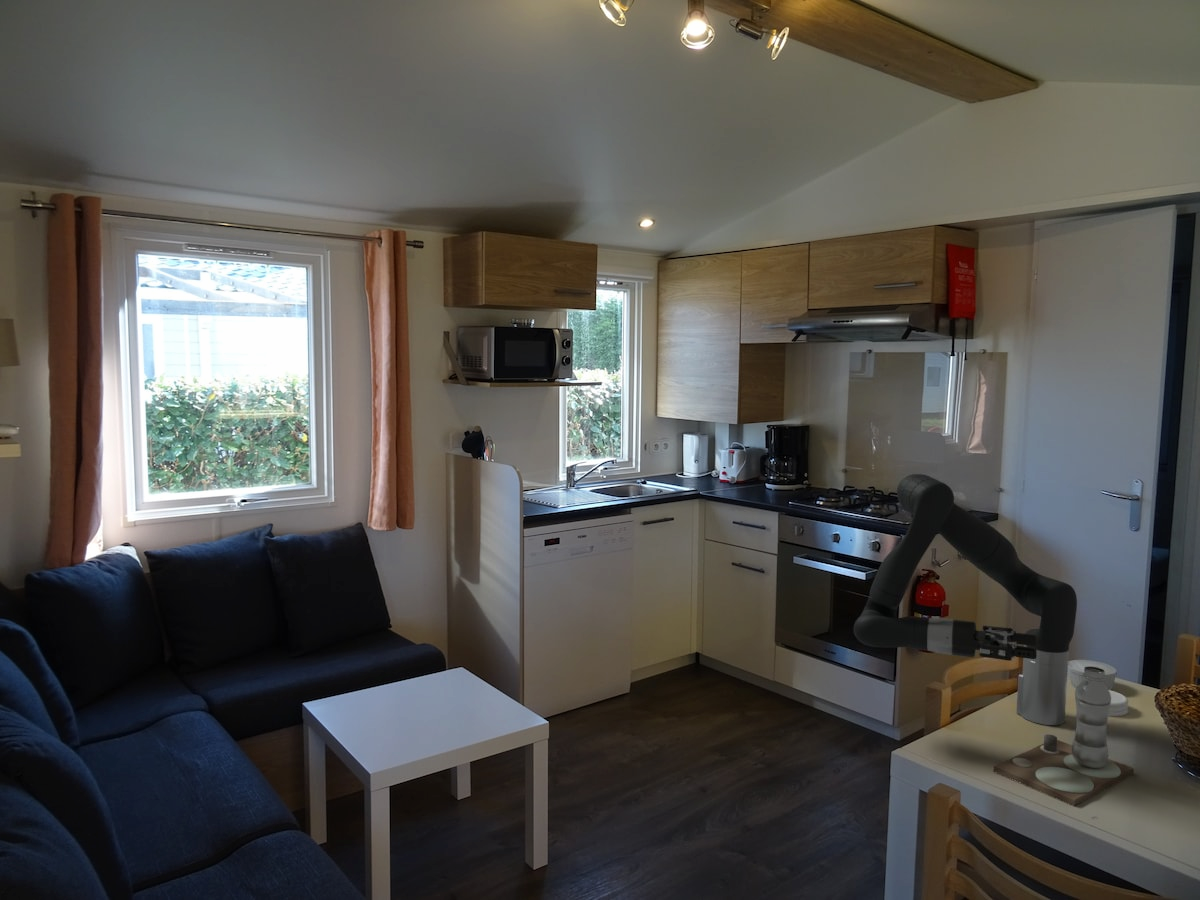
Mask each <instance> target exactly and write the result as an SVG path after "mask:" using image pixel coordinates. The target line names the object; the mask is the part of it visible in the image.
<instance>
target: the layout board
mask: <svg viewBox="0 0 1200 900" xmlns="http://www.w3.org/2000/svg"><path fill="white" fill-rule="evenodd" d="M1072 745H1073V744H1069V743H1068V742H1064V741H1061V740H1060V739H1058V737H1057V736H1056V735H1053V734H1044V737H1043V744H1039V745H1038V746H1036V747H1032V748H1031V749H1028V750H1026V751H1024V752H1022V753H1019V754H1017V755H1015V756H1013V757H1010V758H1009V759H1006V760H1004V761H1002V762H1000V763H998V764H994V765H993V772H994V773H995V772H997V773H996V774H998V773H999V774H998V775H1000V774H1001V775H1000V776H1002V775H1004V776H1003V777H1005V776H1006V777H1005V778H1007V777H1009V778H1011V779H1010V780H1012V779H1013V781H1014V780H1016V781H1018V782H1017V783H1019V782H1021V783H1023V784H1026V785H1028V786H1030V787H1032V788H1031V789H1033V788H1034V790H1035V789H1036V790H1035V791H1037V790H1038V791H1037V792H1040V791H1041V792H1040V793H1042V792H1043V794H1044V793H1045V795H1047V794H1048V795H1047V796H1049V795H1050V796H1049V797H1051V796H1053V797H1052V798H1054V799H1056V798H1057V799H1056V800H1058V799H1059V801H1061V802H1063V801H1064V802H1063V803H1065V802H1066V804H1068V803H1069V804H1068V805H1070V806H1072V805H1073V807H1075V806H1077V805H1078V803H1079V804H1081V803H1082V802H1084V801H1086V800H1088V799H1090V798H1092V797H1094V796H1095V795H1097V794H1099V793H1100V791H1101V792H1103V791H1105V790H1107V789H1108V788H1110V787H1112V786H1114V785H1116V784H1117V783H1119V782H1121V781H1122V780H1124V779H1127V778H1129V777H1130V776H1132V775H1134V774H1135V773H1134V772H1135V771H1134V770H1135V769H1134V767H1133V766H1129V765H1126V764H1123V763H1121V762H1118V761H1115V760H1114V759H1111V758H1108V760H1107V763H1106V764H1105V765H1104V766H1103V767H1101V768H1090V767H1086V766H1083V765H1081V764H1079V763H1077V762H1076V761H1075V759H1074V758H1073V755H1072ZM1128 776H1129V777H1128ZM1126 777H1127V778H1126ZM1009 778H1008V779H1009ZM1016 781H1015V782H1016ZM1021 783H1020V784H1021ZM1023 784H1022V785H1023ZM1026 785H1025V786H1026ZM1028 786H1027V787H1028ZM1030 787H1029V788H1030ZM1093 795H1094V796H1093ZM1091 796H1092V797H1091ZM1089 797H1090V798H1089ZM1080 802H1081V803H1080ZM1076 804H1077V805H1076ZM1074 805H1075V806H1074Z"/></svg>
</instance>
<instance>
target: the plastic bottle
mask: <svg viewBox="0 0 1200 900" xmlns="http://www.w3.org/2000/svg"><path fill="white" fill-rule="evenodd" d="M1083 677H1084V678H1085V679H1084V680H1083V681H1082V682H1081V683H1080V684H1079V685H1078V687H1077V688H1076V687H1075V691H1074V698H1075V708H1076V725H1075V733H1074V738H1073V741H1072V744H1071V745H1072V755H1073V758H1074V759H1075V761H1076V762H1077V763H1079V764H1081V765H1083V766H1086V767H1090V768H1101V767H1103V766H1104V765H1105V764H1106V763H1107V760H1108V759H1109V748H1108V740H1107V739H1108V738H1107V728H1108V727H1107V726H1108V718H1109V716H1108V712H1109V708H1110V703H1111V695H1110V692H1109V690H1108V688H1107V687H1106V686H1105V684H1104V683H1103V681H1105V671H1104V670H1103V669H1101V668H1098V667H1093V666H1087V667H1085V668H1084V674H1083Z"/></svg>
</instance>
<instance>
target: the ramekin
mask: <svg viewBox="0 0 1200 900" xmlns="http://www.w3.org/2000/svg"><path fill="white" fill-rule="evenodd" d="M1087 666H1093V667H1098V668H1101V669H1103V670H1104V671H1105V681H1103V683H1104V684H1105V686H1106V687H1107V688H1108V690H1111V691H1112V689H1113V687H1114V683H1115V681H1116V680H1115V679H1116V676H1117V674H1118V670H1117V669H1116V668H1115V667H1113V666H1111V665H1109V664H1107V663H1104V662H1102V661H1101V662H1100V661H1095V660H1089V659H1074V660H1068V673H1067V678H1068V681H1069V683H1070V684H1071V685H1072V686H1073V687H1074V688H1075V689H1076V688H1077V687H1078V685H1079V684H1080V683H1081V682H1082V681H1083V680H1084V679H1085V678H1084V677H1083V674H1084V668H1085V667H1087Z"/></svg>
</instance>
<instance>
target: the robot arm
mask: <svg viewBox="0 0 1200 900" xmlns="http://www.w3.org/2000/svg"><path fill="white" fill-rule="evenodd" d="M896 496H897V501H898V503H899V504H900V506H901V508H903V510H904V511H905V512H907V513H908V514H911V515H912V518H911V521H910V524H909V527H908V528H907V531H906V533H905V534H904V537H903V538H902V539H901V540H900V541H899V543H898V544H897V545H896V546H894V548H892V550H891V551H890V552H889V553H888V554H887V555H886V556H885V558H884V559H883V561H881V564H880V566H879V567H878V570H877V572H876V575H875V577H874V579H873V582H872V584H871V587H870V590H869V597H868V599H867V601H866V604H865V606H864V608H863V610H862V612H861V614H860V616H859V617H857V619H856V620H855V621H854V625H853V634H854V637H855V638H856V639H857V640H858V641H859V642H860V643H861V644H863V645H865V646H869V647H874V648H906V649H913V650H920V651H928V652H933V653H937V654H940V655H941V654H943V655H950V656H957V657H958V656H959V657H966V658H974V657H975V656H976V651H979V654H978V655H979V657H981V658H989V659H996V660H1003V661H1009V662H1010V661H1013V660H1012V659H1016V658H1020V659H1022V660H1023V663H1022V673H1020V674H1018V679H1017V694H1016V695H1017V698H1016V714H1017V715H1020V716H1021V717H1022V718H1023V719H1026V720H1027V721H1029V722H1033V723H1035V724H1041V725H1045V726H1046V725H1047V726H1058V725H1062V724H1064V723H1065V720H1066V719H1065V718H1066V705H1067V690H1068V689H1067V687H1068V662H1069V653H1070V644H1071V641H1072V639H1073V636H1074V634H1075V633H1074V632H1075V625H1076V617H1077V609H1078V608H1077V607H1078V600H1077V593H1076V591H1075V588H1073V586H1072V585H1070V584H1068V583H1066V582H1063V581H1061V580H1057V579H1055V578H1051V577H1048V576H1044V575H1042V574H1040V573H1038V572H1036V571H1035V570H1033V569H1032V568H1030V567H1028V566H1027V565H1026V564H1025V563H1023V561H1021V560H1020V559H1019V556H1018V553H1017V551H1016V548H1015V547H1014V545H1013V543H1012V542H1011V541H1010V540H1009V539H1007V537H1005V535H1003V534H1002V533H1001V532H1000V531H998V530H997V529H996V528H995V527H993V526H992V525H990V524H989V523H987V522H986V521H984V520H983V519H981V518H979V517H978V516H976V515H975V514H973V513H972V512H969V511H968V510H965V509H964V508H962V507H961V506H959V505H958V504H956V503H955V496H954V492H953V489H952V488H951V487H950V486H949V485H947V484H946V483H945V482H942V481H940V480H938V479H936V478H934V477H931V476H929V475H927V474H921V473H914V474H909V475H907V476H904V477H903V478H902V480H900V481H899V483H898V486H897V489H896ZM938 534H939V535H940V536H941V537H942V538H943V540H945V541H946V542H948V544H950V546H951V547H953V548H954V549H955V550H956V551H957V552H958V553H959V554H960V555H961V556H962V557H964V558H965V559H966V560H967V561H969V563H971V564H972V565H973V566H974V567H976V568H977V569H978V570H980V571H981V572H982V573H984V574H985V575H986V576H988V577H989V578H990V579H991V580H993V581H995V582H996V583H998V584H999V585H1000V586H1002V587H1003V588H1004V589H1005V591H1007V592H1008V593H1009V595H1011V597H1012V598H1013V599H1015V601H1016V602H1017V603H1018V604H1019V605H1020V606H1021V607H1022V608H1023V609H1024V610H1026V611H1027V612H1029V613H1030V614H1034V615H1035V616H1039V617H1040V621H1039V623H1040V624H1039V628H1032V629H1027V630H1026V632H1025V633H1020V632H1017V631H1016V630H1014V629H1013V628H1011V627H1003V626H990V625H982V630H977V623H976V622H975V621H972V620H971V621H970V620H962V619H951V618H942V617H941V618H940V617H924V616H914V615H913V616H912V615H909V616H907V615H906V616H903V617H896V614H897V611H898V609H899V607H900V605H901V603H902V601H903V598H904V596H905V595H906V591H907V589H908V587H909V585H910V582H911V580H912V579H913V576H914V574H915V571H916V569H917V567H918V565H919V563H920V562H921V560H922V558H923V557H924V555H925V553H926V552H927V550H928V549H929V547H930V545H931V544H932V542H933V540H934V539H935V537H936V536H937V535H938Z"/></svg>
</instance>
